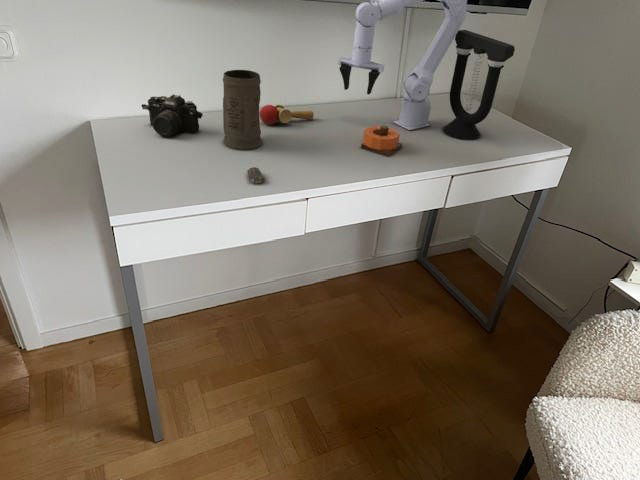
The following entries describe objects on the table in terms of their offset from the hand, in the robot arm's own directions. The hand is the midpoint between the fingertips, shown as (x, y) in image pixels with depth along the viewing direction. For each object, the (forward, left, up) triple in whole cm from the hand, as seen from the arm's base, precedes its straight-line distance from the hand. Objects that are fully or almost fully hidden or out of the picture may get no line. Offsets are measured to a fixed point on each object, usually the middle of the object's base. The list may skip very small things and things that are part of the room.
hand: (357, 91), depth 158 cm
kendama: (+20, -10, -11) cm, 25 cm away
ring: (+6, +19, -9) cm, 22 cm away
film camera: (+55, -18, -11) cm, 59 cm away
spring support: (-27, +24, -11) cm, 38 cm away
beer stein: (+39, -3, -11) cm, 40 cm away
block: (+49, +20, -11) cm, 54 cm away
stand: (+6, +20, -10) cm, 23 cm away
